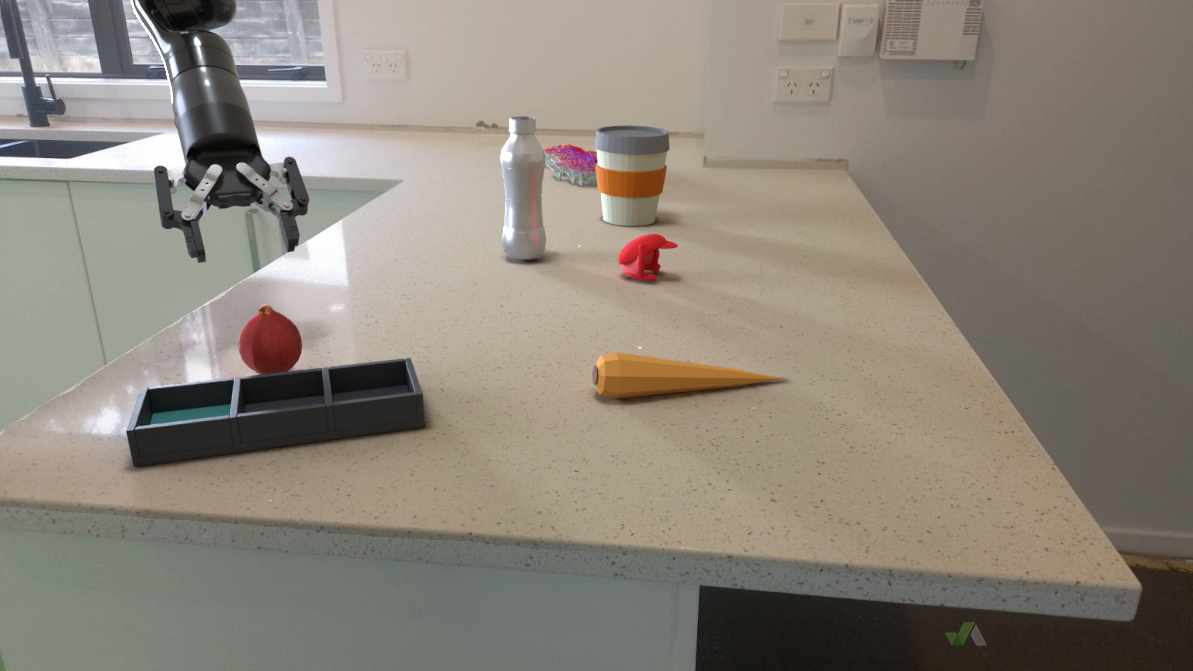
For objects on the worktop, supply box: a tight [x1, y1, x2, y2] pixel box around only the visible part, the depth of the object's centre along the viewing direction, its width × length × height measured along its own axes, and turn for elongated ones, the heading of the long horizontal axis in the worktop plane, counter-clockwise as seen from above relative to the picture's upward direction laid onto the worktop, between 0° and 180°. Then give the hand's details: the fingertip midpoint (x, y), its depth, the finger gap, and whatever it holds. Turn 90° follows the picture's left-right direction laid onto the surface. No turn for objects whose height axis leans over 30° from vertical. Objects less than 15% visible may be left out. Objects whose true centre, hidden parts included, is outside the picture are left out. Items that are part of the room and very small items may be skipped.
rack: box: [125, 357, 426, 467], centre depth 74 cm, size 23×8×3 cm, turn 109°
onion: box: [238, 303, 303, 375], centre depth 82 cm, size 6×6×8 cm
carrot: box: [591, 351, 784, 400], centre depth 83 cm, size 20×4×4 cm, turn 103°
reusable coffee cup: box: [594, 125, 671, 227], centre depth 142 cm, size 13×13×15 cm
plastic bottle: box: [499, 115, 547, 261], centre depth 119 cm, size 6×7×20 cm
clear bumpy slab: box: [542, 143, 598, 187], centre depth 180 cm, size 30×15×5 cm, turn 15°
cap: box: [617, 233, 679, 282], centre depth 115 cm, size 8×6×6 cm
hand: (247, 253), depth 85 cm, fingers open, 8 cm apart
